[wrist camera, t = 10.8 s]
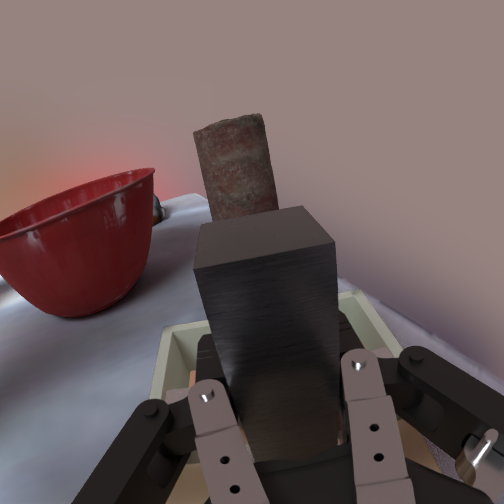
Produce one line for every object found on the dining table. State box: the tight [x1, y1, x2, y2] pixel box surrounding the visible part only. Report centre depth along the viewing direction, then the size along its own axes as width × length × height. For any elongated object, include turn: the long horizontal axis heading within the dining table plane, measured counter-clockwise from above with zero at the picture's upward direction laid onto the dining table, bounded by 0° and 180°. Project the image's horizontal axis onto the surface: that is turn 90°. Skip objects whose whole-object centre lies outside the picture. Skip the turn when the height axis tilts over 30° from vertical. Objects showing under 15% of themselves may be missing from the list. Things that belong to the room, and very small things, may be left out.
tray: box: [149, 289, 403, 464], centre depth 20 cm, size 11×16×6 cm
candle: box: [193, 113, 279, 222], centre depth 35 cm, size 8×7×20 cm
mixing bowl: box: [0, 168, 155, 317], centre depth 42 cm, size 28×28×15 cm
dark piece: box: [165, 206, 393, 463], centre depth 12 cm, size 5×12×12 cm, turn 95°
